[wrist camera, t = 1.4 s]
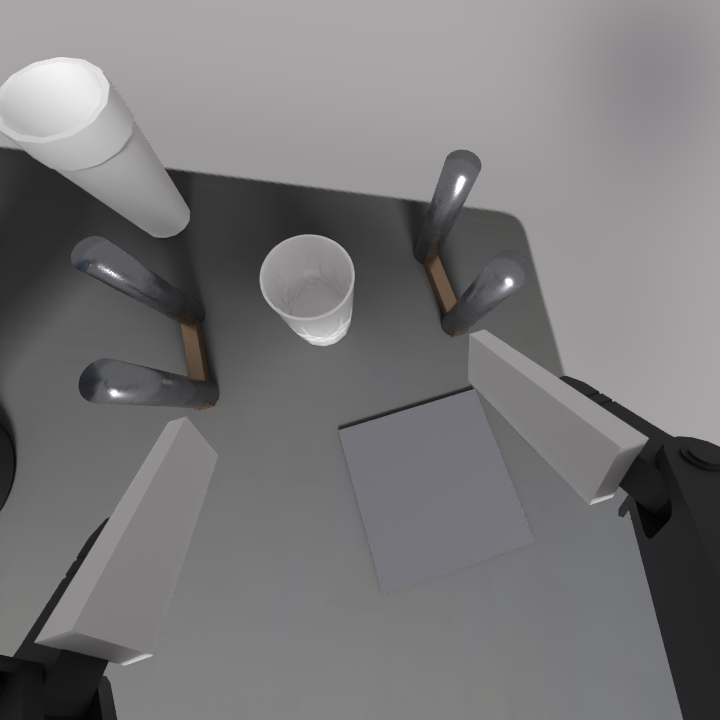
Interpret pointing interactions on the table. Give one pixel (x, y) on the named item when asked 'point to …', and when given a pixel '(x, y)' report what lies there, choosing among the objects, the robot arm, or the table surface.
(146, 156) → the foam cup
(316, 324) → the white cup
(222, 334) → the table surface
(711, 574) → the robot arm
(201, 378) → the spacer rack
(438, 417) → the mat
